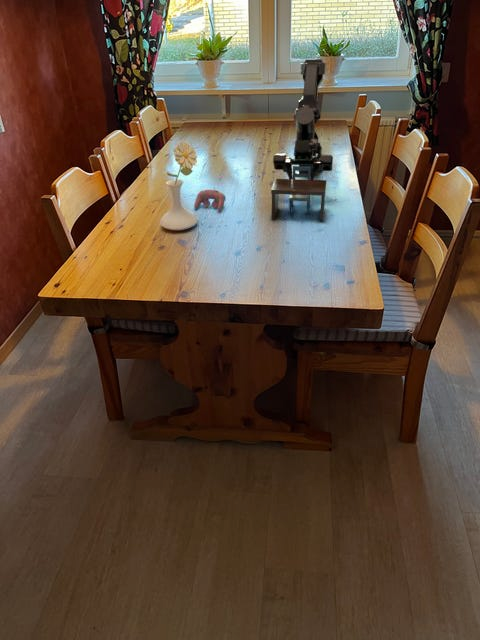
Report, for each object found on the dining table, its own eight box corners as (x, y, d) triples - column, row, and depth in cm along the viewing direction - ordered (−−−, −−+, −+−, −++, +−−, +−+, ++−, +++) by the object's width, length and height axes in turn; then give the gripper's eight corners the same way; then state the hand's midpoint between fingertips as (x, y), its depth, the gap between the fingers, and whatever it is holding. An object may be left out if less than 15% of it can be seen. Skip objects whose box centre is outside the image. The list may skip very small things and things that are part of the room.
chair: (290, 205, 163) (291, 165, 156) (310, 206, 162) (312, 166, 155) (288, 213, 158) (289, 172, 151) (308, 213, 157) (310, 173, 150)
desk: (275, 208, 162) (275, 178, 156) (324, 210, 159) (326, 180, 154) (271, 220, 154) (271, 189, 148) (323, 222, 151) (325, 191, 146)
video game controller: (225, 213, 164) (227, 191, 162) (220, 212, 159) (223, 189, 158) (197, 210, 166) (200, 189, 165) (192, 209, 162) (194, 187, 161)
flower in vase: (168, 237, 146) (158, 151, 132) (155, 223, 155) (144, 141, 141) (208, 227, 151) (202, 143, 137) (194, 214, 159) (187, 134, 145)
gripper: (274, 127, 154) (269, 174, 151) (334, 128, 151) (331, 176, 148) (276, 146, 165) (272, 190, 162) (333, 147, 162) (330, 192, 159)
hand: (300, 187), depth 158 cm, fingers closed on chair, 5 cm apart
